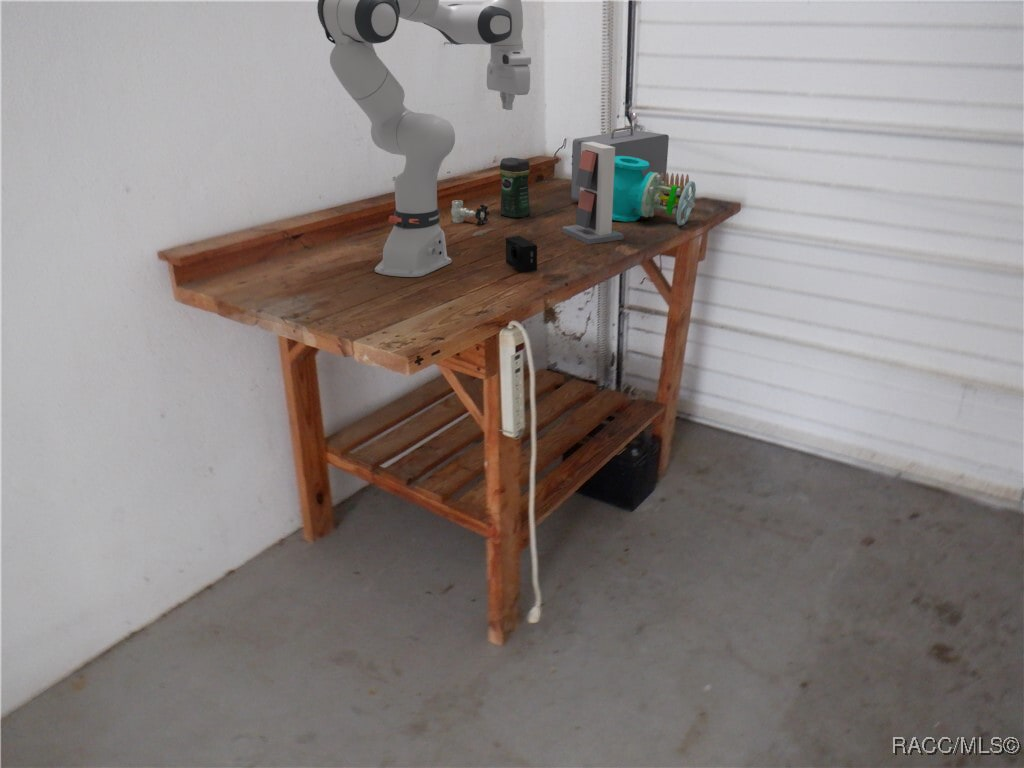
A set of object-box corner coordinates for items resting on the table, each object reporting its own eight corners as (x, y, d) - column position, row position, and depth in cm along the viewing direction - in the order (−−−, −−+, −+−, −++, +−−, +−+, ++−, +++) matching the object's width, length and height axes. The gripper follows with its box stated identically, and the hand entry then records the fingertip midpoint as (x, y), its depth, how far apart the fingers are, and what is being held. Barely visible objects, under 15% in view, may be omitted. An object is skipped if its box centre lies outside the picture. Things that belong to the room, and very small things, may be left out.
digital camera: (501, 262, 222) (501, 237, 219) (519, 260, 224) (519, 235, 221) (518, 273, 214) (518, 247, 211) (536, 270, 216) (537, 244, 213)
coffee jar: (533, 215, 270) (534, 158, 262) (516, 219, 265) (516, 161, 257) (513, 210, 276) (513, 154, 269) (496, 214, 272) (495, 157, 264)
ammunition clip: (688, 209, 276) (691, 174, 271) (686, 211, 274) (689, 175, 269) (658, 206, 281) (660, 171, 276) (656, 207, 279) (658, 172, 274)
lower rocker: (578, 223, 247) (584, 190, 243) (588, 228, 242) (594, 194, 238) (574, 223, 246) (580, 190, 242) (585, 228, 241) (591, 194, 238)
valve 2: (619, 153, 266) (707, 173, 255) (610, 206, 275) (695, 228, 263) (602, 160, 255) (694, 181, 244) (593, 215, 263) (681, 238, 252)
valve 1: (446, 223, 262) (478, 227, 257) (446, 202, 260) (477, 206, 254) (458, 218, 268) (489, 223, 262) (457, 198, 265) (489, 202, 259)
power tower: (594, 227, 256) (598, 139, 244) (623, 239, 243) (628, 147, 231) (561, 231, 251) (563, 143, 239) (588, 244, 238) (591, 151, 227)
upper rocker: (578, 185, 242) (585, 151, 238) (589, 189, 237) (596, 154, 233) (575, 185, 241) (582, 150, 238) (586, 188, 236) (593, 153, 233)
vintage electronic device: (625, 189, 306) (629, 120, 295) (664, 197, 293) (669, 125, 283) (566, 203, 286) (568, 129, 276) (605, 212, 274) (609, 135, 263)
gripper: (480, 54, 229) (481, 106, 235) (513, 58, 212) (513, 114, 218) (500, 53, 232) (501, 104, 237) (534, 57, 215) (534, 112, 221)
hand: (507, 109), depth 228 cm, fingers closed
